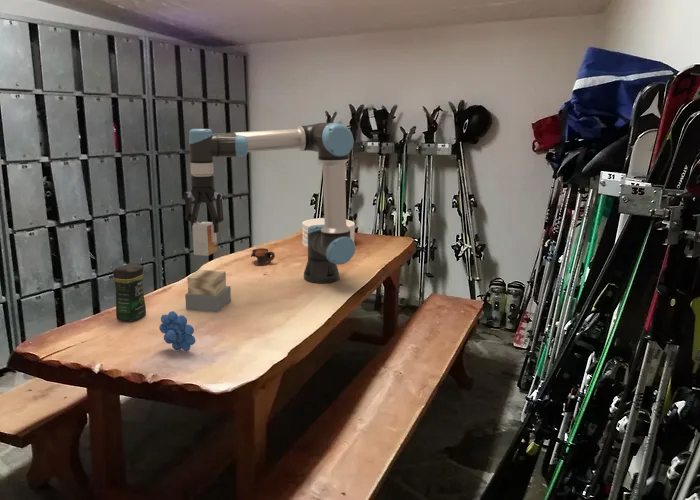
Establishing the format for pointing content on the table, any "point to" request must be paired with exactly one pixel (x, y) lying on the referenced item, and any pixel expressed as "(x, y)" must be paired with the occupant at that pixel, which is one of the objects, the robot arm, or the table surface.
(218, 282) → the block top
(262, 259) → the pottery mug
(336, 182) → the robot arm
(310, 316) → the table surface
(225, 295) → the block base
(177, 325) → the grapes
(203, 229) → the small box
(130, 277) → the coffee jar
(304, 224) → the plate stack
